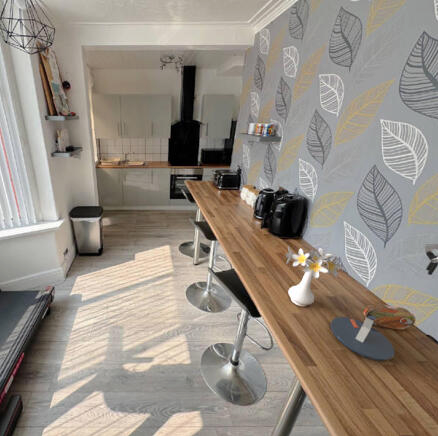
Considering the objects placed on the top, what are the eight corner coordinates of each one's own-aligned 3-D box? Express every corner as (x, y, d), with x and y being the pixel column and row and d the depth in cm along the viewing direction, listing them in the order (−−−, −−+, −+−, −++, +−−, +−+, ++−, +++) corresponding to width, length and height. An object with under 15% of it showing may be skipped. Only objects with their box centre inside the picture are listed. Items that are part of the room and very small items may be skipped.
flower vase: (274, 285, 109) (289, 237, 99) (321, 300, 101) (343, 250, 90) (271, 302, 98) (288, 251, 88) (324, 321, 90) (349, 267, 80)
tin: (362, 323, 90) (372, 306, 87) (358, 317, 93) (366, 300, 89) (409, 332, 87) (421, 315, 83) (403, 325, 90) (414, 308, 86)
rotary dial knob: (405, 369, 72) (416, 354, 69) (339, 350, 77) (347, 335, 74) (377, 326, 86) (386, 312, 84) (324, 313, 92) (330, 299, 89)
